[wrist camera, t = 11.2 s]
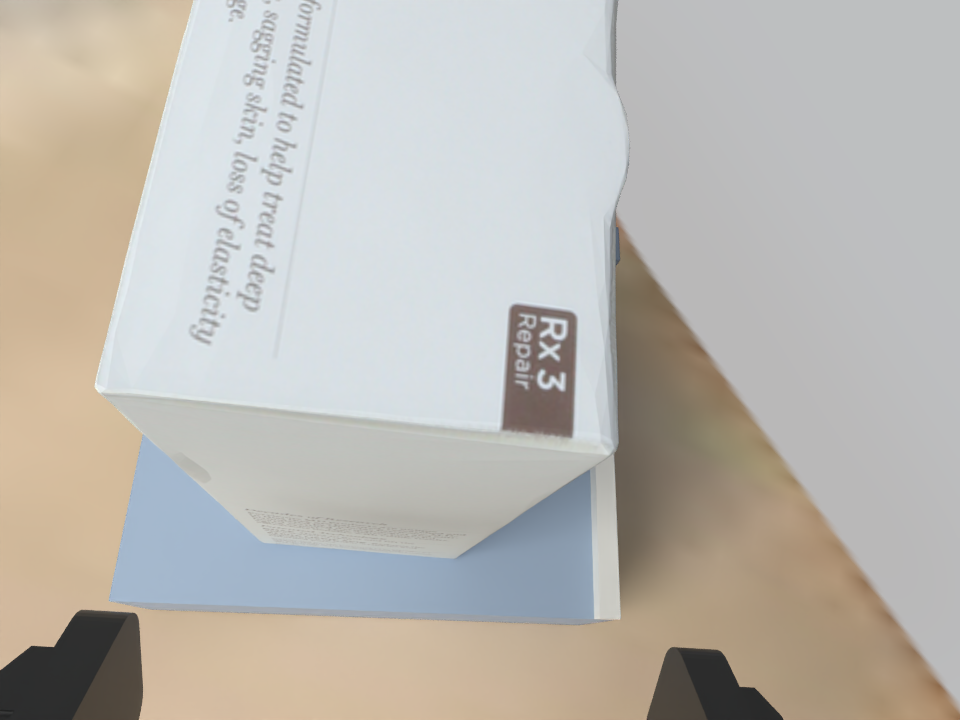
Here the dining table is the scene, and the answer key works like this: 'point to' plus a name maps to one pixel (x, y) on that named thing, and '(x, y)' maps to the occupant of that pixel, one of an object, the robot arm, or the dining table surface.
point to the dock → (369, 560)
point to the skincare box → (379, 266)
